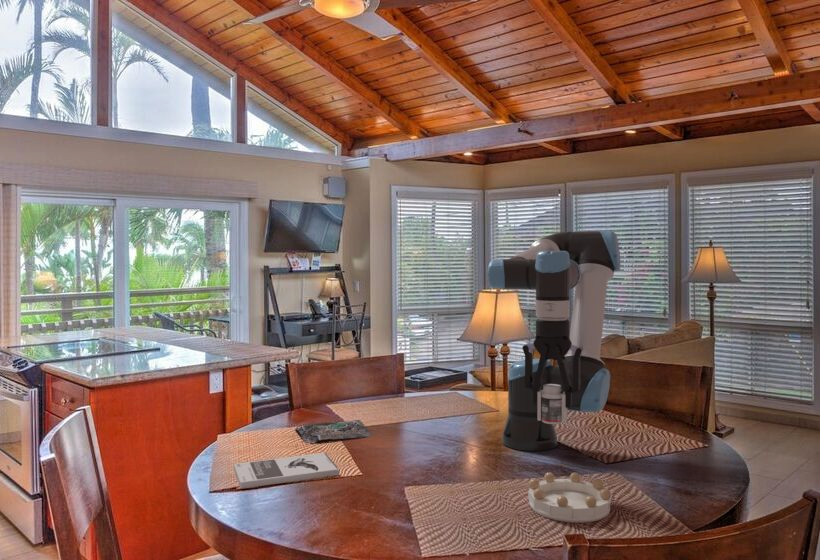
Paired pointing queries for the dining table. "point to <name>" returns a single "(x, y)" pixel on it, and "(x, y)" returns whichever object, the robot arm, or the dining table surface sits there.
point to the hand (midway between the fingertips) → (552, 420)
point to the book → (284, 470)
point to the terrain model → (332, 431)
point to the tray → (569, 499)
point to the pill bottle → (552, 404)
